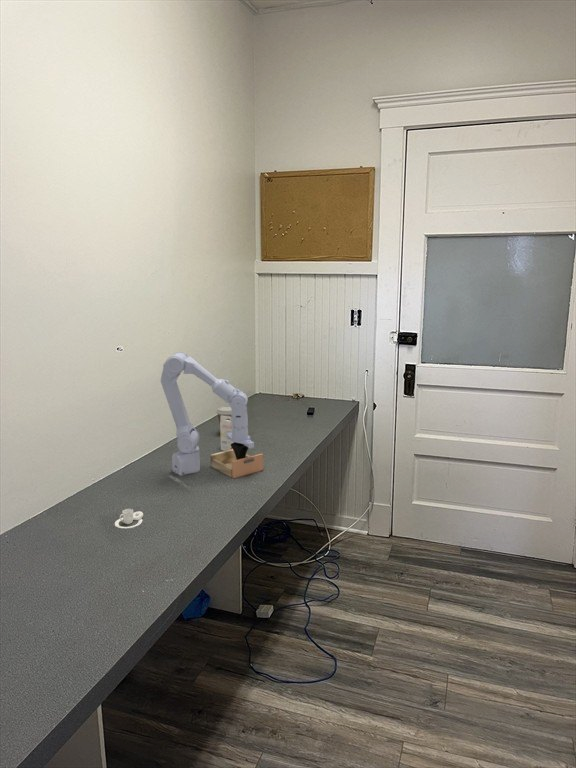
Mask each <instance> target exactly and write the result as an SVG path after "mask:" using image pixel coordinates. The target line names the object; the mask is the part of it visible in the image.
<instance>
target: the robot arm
mask: <svg viewBox="0 0 576 768" xmlns="http://www.w3.org/2000/svg"><path fill="white" fill-rule="evenodd" d="M162 367H163V368H162V372H161V376H160V384H161V385H162V390H163V392H164V396H165V398H166V400H167V401H166V402H167V403H168V406H169V410H170V412H171V416H172V418H173V421H174V425H175V427H176V439H177V442H176V445H177V448H178V451H177V452H174V453H173V454H172V456H171V462H172V463H171V464H172V465H171V466H172V472H173V473H174V474H177V475H179V476H181V477H182V476H185V475H190V474H194V473H198V472H199V471H200V470H201V462H200V461H201V459H200V447H199V445H198V443H199V442H200V439H201V438H200V433H199V432H198V431H197V429H196V427H194V424H193V423H192V422H191V420H190V417H189V415H188V414H189V413H188V411H187V409H186V405H185V403H184V399H183V398H182V394H181V391H180V388H179V385H178V382H177V381H178V378H179V377H180V375H181V373H183V374H185V375H190V374H191V375H194V376H195V377H196V378H199V380H201V381H203V382H204V383H205V384H207V385H208V386H210V387H211V389H212V392H213V394H215V395H216V396H218V398H220V399H221V400H223V401H224V402H225V403H228V404H229V405H228V406H230V407H231V409H232V414H231V421H232V433H228V434H227V439H231V440H232V441H233V442H234V443H232V444H231V447H232V448H233V450H234V453H235V456H236V459H237V460H239V459H242V458H245V456H246V454H248V450H249V449H253V448H255V442H254V441H252V440H251V436H250V435H249V421H248V406H247V404H248V401H249V398H248V395H247V394H246V393H245V392H244V391H242V390H240V389H239V388H236V387H234V386H233V385H232V384H231V383H230V381H229V380H228V379H224V378H217V377H216V376H214V375H213V374H212V373H210V372H209V370H207V369H206V368H204V367H203V366H202V365H201V364H200V363H199V362H197V361H196V360H195V359H194V358H193V357H191V356H188V354H187V353H185V352H183V351H177V352H175V353H174V354H173V355H171V356H170V357H168V358H167V359H166V361H165V362H164V363H163V366H162Z"/></svg>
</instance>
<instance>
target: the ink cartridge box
mask: <svg viewBox="0 0 576 768" xmlns="http://www.w3.org/2000/svg"><path fill="white" fill-rule="evenodd" d="M226 419H230V420H231V417H229V416H222V415H221V416H220V424H219V429H220V430H219V432H220V433H219V435H220V450H221V451H222V452H223V451H227V450H231V449H233V448H232V447H231V444H232V443H234V442H233V441H232V440H231V439H227V434H228V433H232V421H229V420H226Z"/></svg>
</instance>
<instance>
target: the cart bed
mask: <svg viewBox="0 0 576 768" xmlns="http://www.w3.org/2000/svg"><path fill="white" fill-rule="evenodd" d="M250 456H251V455H249V454H248V453H246V456H245V458H246V457H250ZM209 458H210V467H211V468H213V469H215V470H217V471H218V472H219V473H220V472H221V473H222V474H224V475H226V476H228V477H230V478H232V461H235V460H237V459H236V456H235V453H234V450H233V449H231V450H227V451H223V450H222V451H220V452H215V453H211V454H210V457H209ZM232 479H233V478H232Z"/></svg>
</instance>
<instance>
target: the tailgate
mask: <svg viewBox="0 0 576 768" xmlns="http://www.w3.org/2000/svg"><path fill="white" fill-rule="evenodd" d="M260 471H264V454H263V453H258V454H257V453H256V454H254V455H250V457H246V458H242V459H239V460H235V461H232V479H236V478H240V477H244V476H247V475H250V474H254V473H257V472H260Z"/></svg>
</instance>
